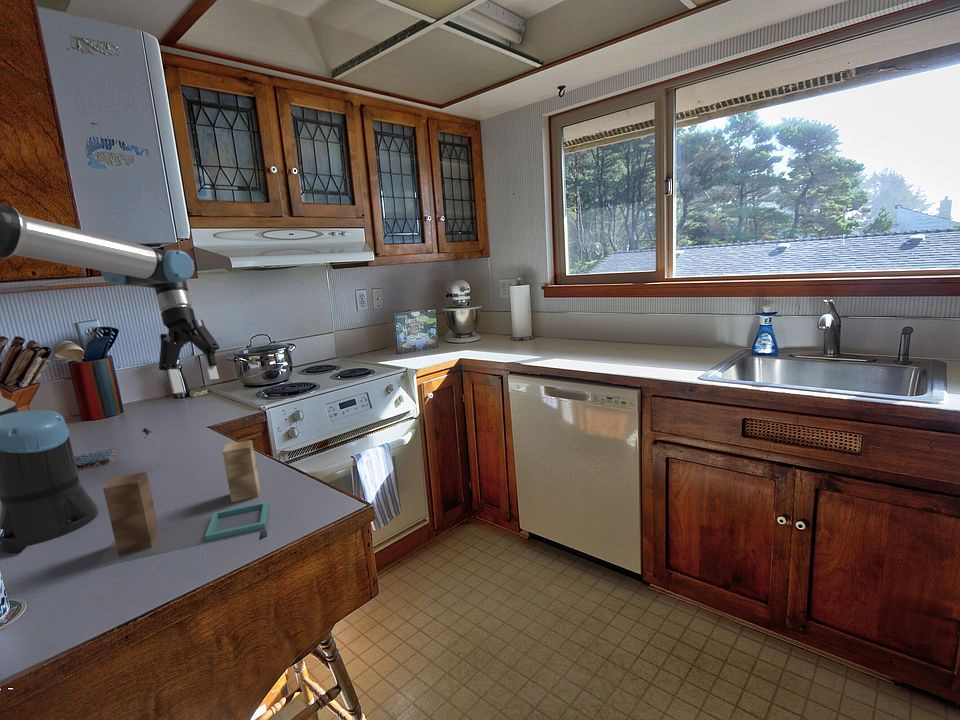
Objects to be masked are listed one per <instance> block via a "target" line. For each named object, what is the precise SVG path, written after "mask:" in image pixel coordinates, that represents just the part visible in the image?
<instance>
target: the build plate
mask: <svg viewBox="0 0 960 720" xmlns="http://www.w3.org/2000/svg"><path fill="white" fill-rule="evenodd" d="M268 501H269V500H267V501H263V502H258V503H252V504H247V505H243V506H238V507H233V508H228V509H223V510H219V511H214V512H213V513H212V515H211V516H207V517H202V518H197V519H192V520H187V521H184V522H183V521H182V522H179V523H172V524H168V525H164V526H163V525H162V526H158V528H159V533H160V534H159V536H158V538H157V539H156V541H155V543H154V545H153V547H152V548H147V549H142V550H138V551H133V552H129V553H124V554H119V555H118V551H117V547H116V542H115V539H114V540H113V541H112V542H111V543H110V545H109V547H108V548H107V549H106V551H105V552H104V553H103V555H102V556H101V558H100V559H99V560H98V562H97V563H96V564H95V567H94V569H97V568H102V567H107V566H111V565H115V564H120V563H124V562H129V561H133V560H138V559H142V558H147V557H152V556H156V555H161V554H165V553H169V552H174V551H179V550H183V549H187V548H191V547H197V546H201V545H206V544H210V543H214V542H219V541H225V540H228V539H233V538H238V537H242V536H246V535H250V534H255V533H259V537H258V539H260V538H265V537H268V532H269V526H270V517H271V504H269V502H268Z"/></svg>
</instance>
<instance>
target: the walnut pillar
mask: <svg viewBox="0 0 960 720" xmlns="http://www.w3.org/2000/svg"><path fill="white" fill-rule="evenodd" d="M102 490H103V494H104V498H105V503H106V507H107V511H108V515H109V520H110V525H111V528H112V534H113V538H114V540H115V542H116V547H117V551H118V555H119V554H124V553H129V552H133V551H138V550H142V549H147V548H152V547H153V545H154V543H155V541H156V539H157V538H158V536H159V534H160V533H159V528H158V527H159V525H158V520H157V515H156V510H155V505H154V500H153V496H152V492H151V486H150V482H149V477H148V473H147V471H143V472H137V473H133V474H132V473H131V474H127V475H126V474H125V475H120V476H116V477H112V478H111V480H110V481H109V482H108V483H106V485H105V486H104V487H103V489H102Z"/></svg>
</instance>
